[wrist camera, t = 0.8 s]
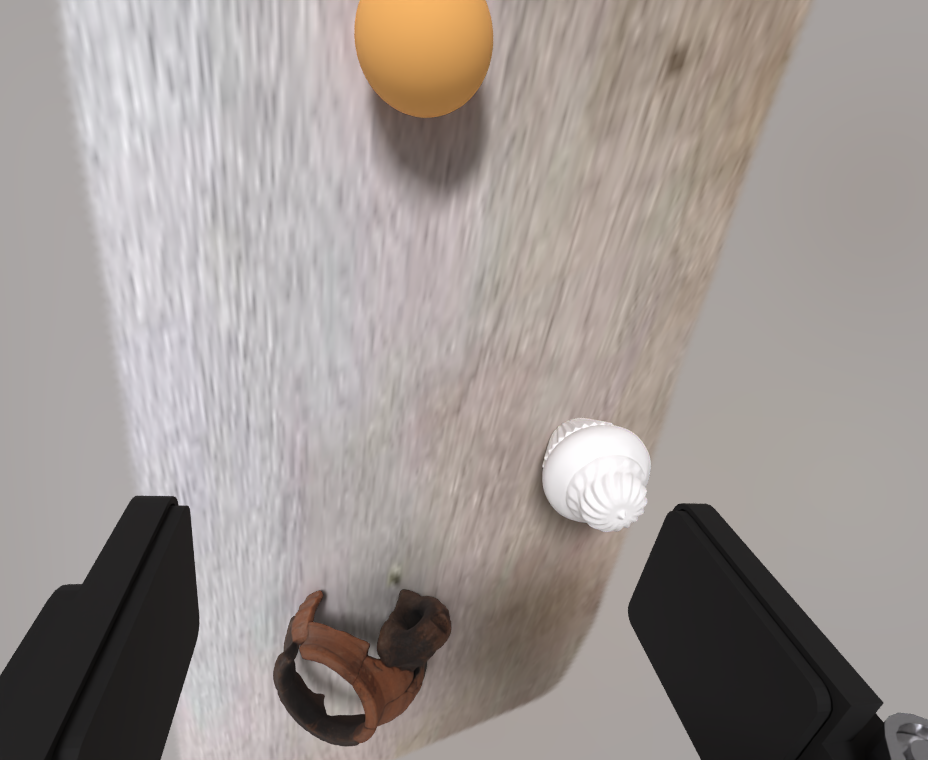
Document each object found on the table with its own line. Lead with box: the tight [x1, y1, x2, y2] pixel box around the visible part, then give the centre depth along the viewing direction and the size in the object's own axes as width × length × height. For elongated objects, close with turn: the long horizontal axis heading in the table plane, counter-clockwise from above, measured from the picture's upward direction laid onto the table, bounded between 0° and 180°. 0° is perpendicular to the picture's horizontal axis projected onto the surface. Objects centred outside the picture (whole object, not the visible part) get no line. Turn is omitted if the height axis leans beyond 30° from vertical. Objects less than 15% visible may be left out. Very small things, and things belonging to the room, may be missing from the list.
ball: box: [354, 0, 493, 118], centre depth 19 cm, size 5×5×5 cm
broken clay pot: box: [273, 590, 451, 746], centre depth 34 cm, size 12×10×8 cm
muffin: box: [542, 418, 651, 532], centre depth 29 cm, size 6×6×7 cm
